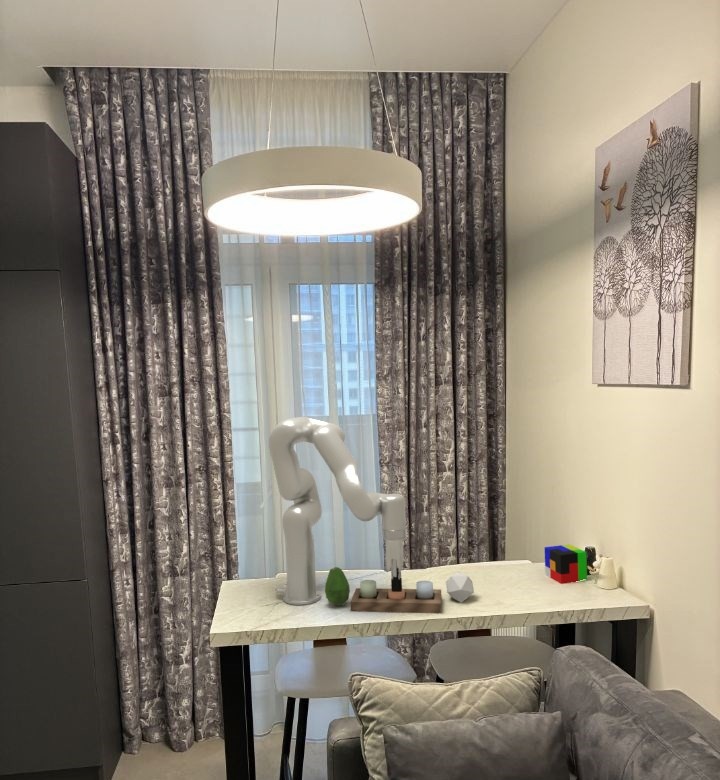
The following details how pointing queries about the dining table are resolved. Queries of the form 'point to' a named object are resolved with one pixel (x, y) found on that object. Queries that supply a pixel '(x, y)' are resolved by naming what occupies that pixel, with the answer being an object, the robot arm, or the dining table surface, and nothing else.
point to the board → (396, 602)
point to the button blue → (424, 589)
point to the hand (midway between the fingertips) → (396, 590)
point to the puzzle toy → (565, 563)
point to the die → (459, 586)
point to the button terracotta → (396, 594)
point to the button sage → (368, 589)
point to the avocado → (337, 587)
